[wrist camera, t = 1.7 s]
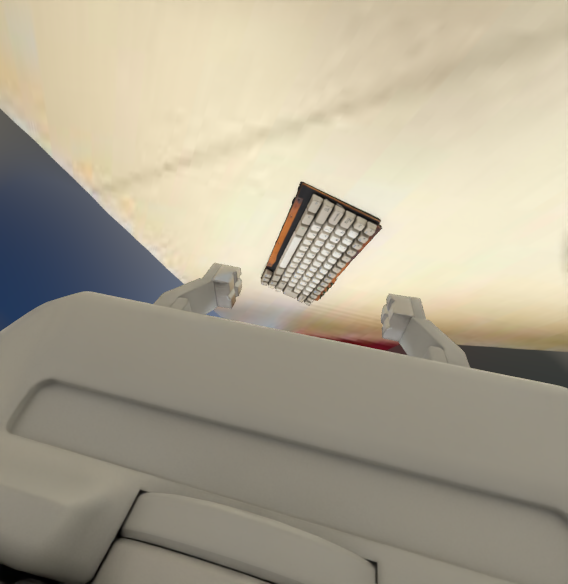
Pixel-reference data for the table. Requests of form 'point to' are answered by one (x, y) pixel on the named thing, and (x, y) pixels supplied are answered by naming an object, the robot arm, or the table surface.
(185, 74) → the table surface
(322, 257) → the mechanical keyboard
